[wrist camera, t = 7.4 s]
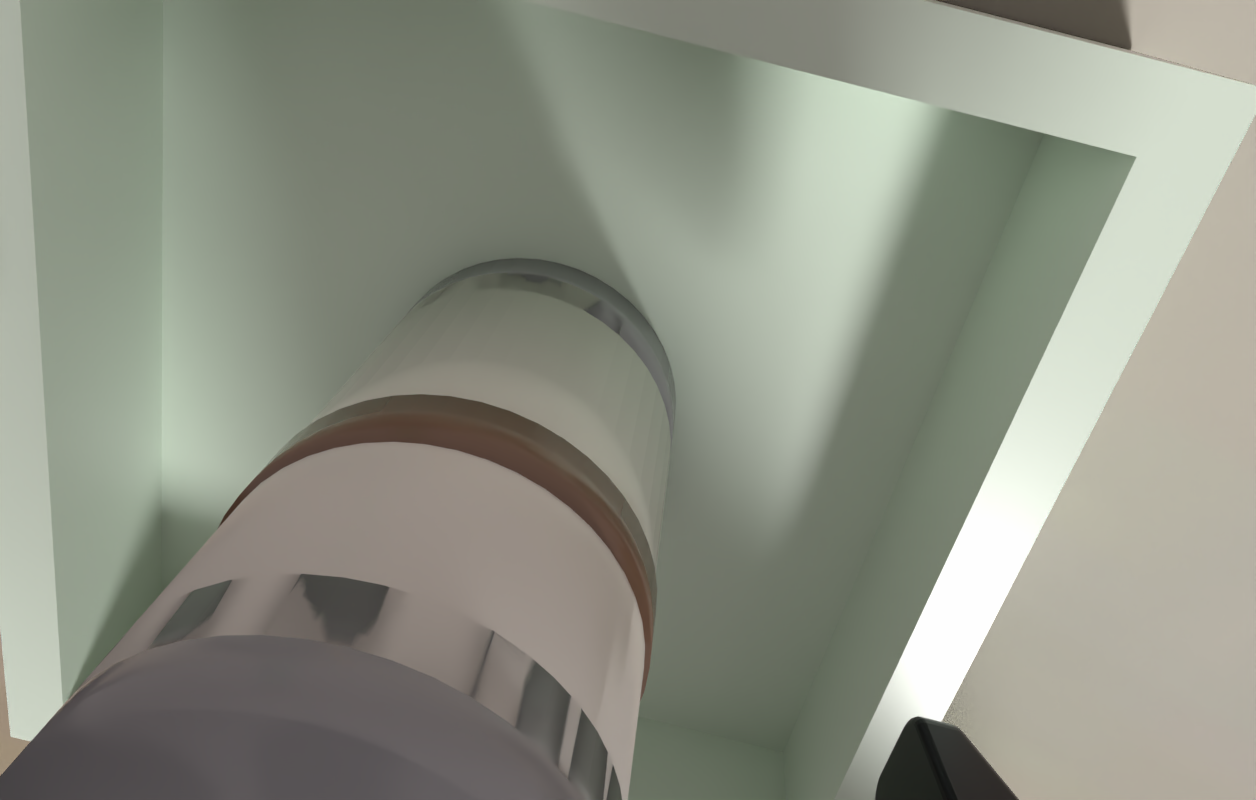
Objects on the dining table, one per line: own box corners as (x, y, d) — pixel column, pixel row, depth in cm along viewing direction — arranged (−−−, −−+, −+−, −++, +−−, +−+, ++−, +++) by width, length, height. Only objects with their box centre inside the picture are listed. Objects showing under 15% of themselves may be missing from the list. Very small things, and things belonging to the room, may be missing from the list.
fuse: (641, 553, 14) (543, 1193, 7) (371, 484, 14) (-12, 1059, 7) (714, 298, 12) (686, 809, 5) (403, 220, 12) (-73, 621, 5)
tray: (813, 769, 16) (828, 938, 14) (134, 600, 16) (10, 736, 13) (1134, 50, 11) (1268, 88, 8) (124, -208, 11) (-87, -258, 8)
